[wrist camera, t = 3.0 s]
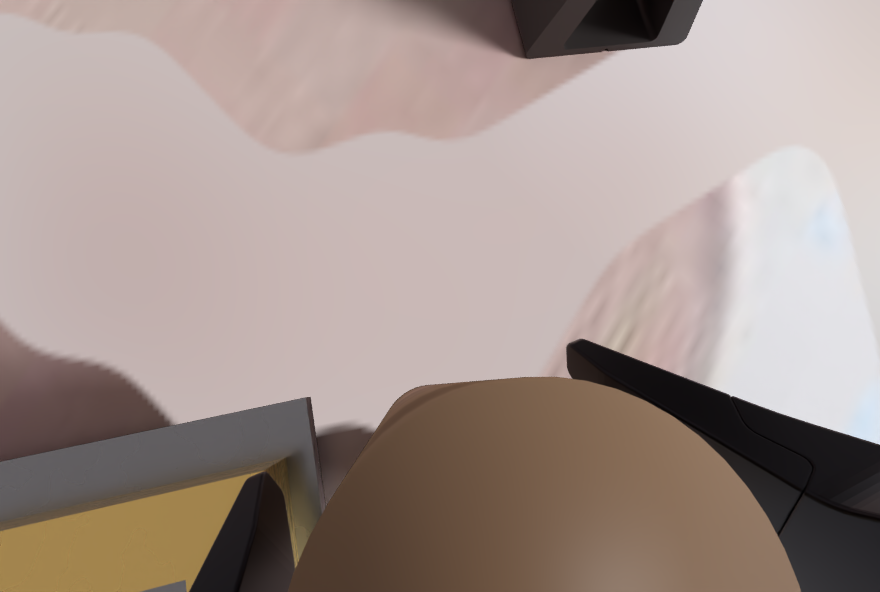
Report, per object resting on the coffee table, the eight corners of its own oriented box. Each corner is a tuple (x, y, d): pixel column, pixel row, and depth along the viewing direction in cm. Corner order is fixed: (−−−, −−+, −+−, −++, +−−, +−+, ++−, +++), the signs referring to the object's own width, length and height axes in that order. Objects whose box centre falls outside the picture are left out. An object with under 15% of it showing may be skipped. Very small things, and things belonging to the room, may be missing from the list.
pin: (489, 474, 16) (909, 907, 3) (391, 499, 16) (315, 1177, 2) (468, 375, 17) (712, 334, 4) (374, 396, 17) (238, 437, 3)
